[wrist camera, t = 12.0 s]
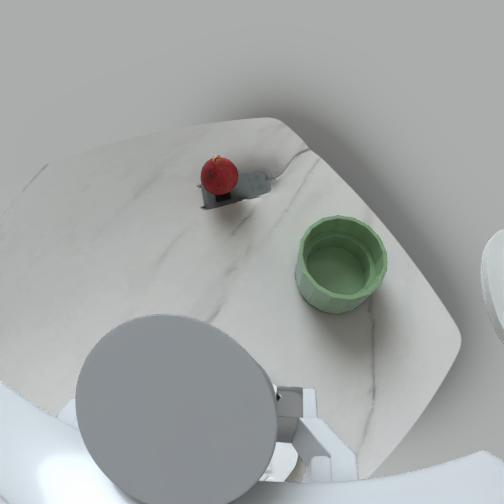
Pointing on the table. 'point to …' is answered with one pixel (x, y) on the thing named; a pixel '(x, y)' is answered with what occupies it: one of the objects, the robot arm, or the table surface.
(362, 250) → the green faceted pot
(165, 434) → the container
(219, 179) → the onion
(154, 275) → the table surface
